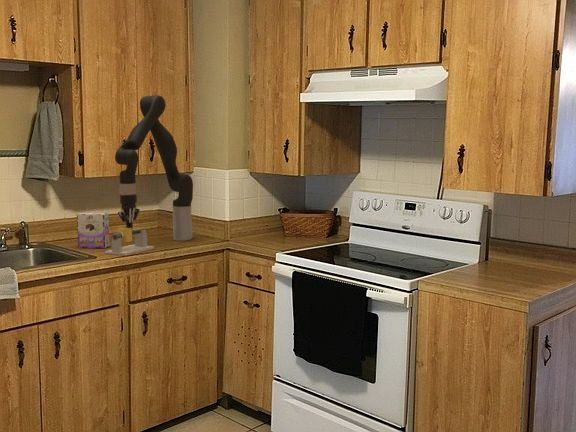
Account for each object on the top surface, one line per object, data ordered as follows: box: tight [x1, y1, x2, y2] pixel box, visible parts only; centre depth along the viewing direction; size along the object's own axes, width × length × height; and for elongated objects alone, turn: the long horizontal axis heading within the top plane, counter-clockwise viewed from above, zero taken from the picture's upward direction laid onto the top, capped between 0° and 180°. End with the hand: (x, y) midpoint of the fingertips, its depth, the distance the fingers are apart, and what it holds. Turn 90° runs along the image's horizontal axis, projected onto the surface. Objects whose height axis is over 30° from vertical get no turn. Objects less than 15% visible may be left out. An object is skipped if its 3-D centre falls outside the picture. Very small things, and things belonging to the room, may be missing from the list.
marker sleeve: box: [116, 226, 133, 243], centre depth 316 cm, size 4×5×6 cm
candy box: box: [76, 212, 111, 249], centre depth 328 cm, size 14×6×16 cm, turn 80°
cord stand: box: [104, 228, 155, 256], centre depth 319 cm, size 20×12×10 cm, turn 153°
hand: (129, 230), depth 319 cm, fingers closed
